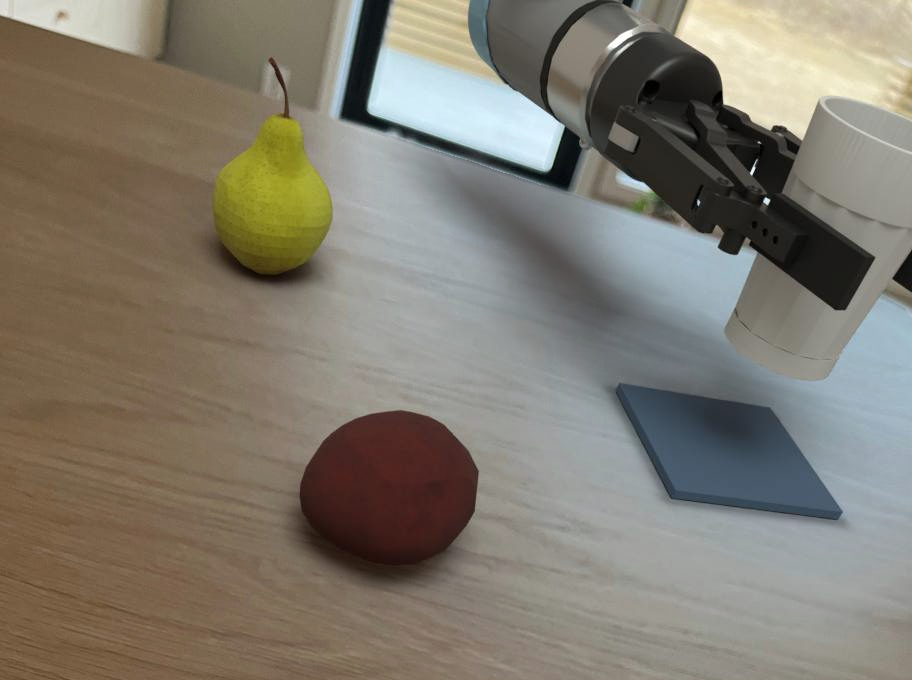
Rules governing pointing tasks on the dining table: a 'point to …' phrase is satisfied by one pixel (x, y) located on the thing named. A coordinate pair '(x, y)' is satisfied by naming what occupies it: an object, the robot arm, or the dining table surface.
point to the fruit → (272, 199)
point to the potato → (390, 488)
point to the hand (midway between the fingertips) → (906, 284)
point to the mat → (725, 453)
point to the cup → (849, 212)
